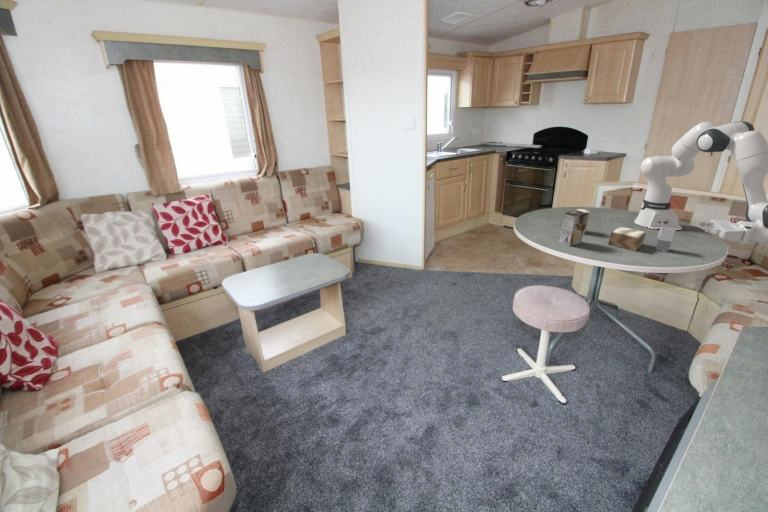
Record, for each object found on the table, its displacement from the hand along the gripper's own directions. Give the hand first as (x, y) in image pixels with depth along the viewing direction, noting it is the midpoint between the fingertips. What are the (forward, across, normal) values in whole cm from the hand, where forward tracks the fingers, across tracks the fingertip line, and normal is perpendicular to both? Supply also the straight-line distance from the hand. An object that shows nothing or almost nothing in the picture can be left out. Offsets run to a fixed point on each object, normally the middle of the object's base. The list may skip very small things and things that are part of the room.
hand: (702, 226), depth 165 cm
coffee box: (+52, +11, +14) cm, 55 cm away
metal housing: (+12, 0, +14) cm, 18 cm away
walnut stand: (+27, 0, +14) cm, 31 cm away
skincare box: (+49, -10, +14) cm, 52 cm away
